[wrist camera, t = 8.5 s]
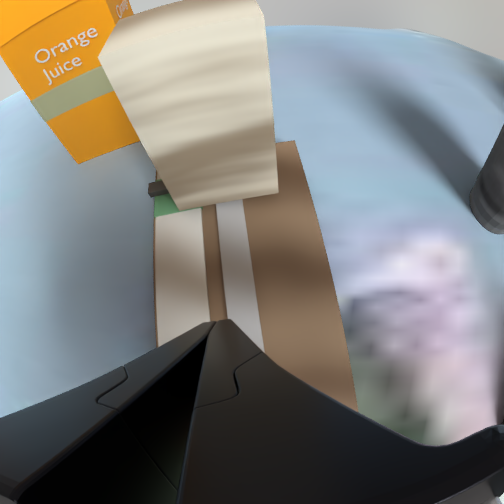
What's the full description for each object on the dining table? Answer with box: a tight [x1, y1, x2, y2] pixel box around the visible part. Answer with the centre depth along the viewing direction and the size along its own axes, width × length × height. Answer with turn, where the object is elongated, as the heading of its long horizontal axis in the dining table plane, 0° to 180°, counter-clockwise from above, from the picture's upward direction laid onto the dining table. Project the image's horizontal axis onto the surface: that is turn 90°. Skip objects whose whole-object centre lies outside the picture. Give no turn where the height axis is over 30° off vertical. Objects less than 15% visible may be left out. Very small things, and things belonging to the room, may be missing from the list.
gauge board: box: [153, 140, 358, 412], centre depth 18 cm, size 19×10×2 cm, turn 8°
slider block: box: [98, 0, 279, 211], centre depth 14 cm, size 4×8×11 cm, turn 98°
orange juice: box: [0, 0, 140, 164], centre depth 17 cm, size 8×9×20 cm
